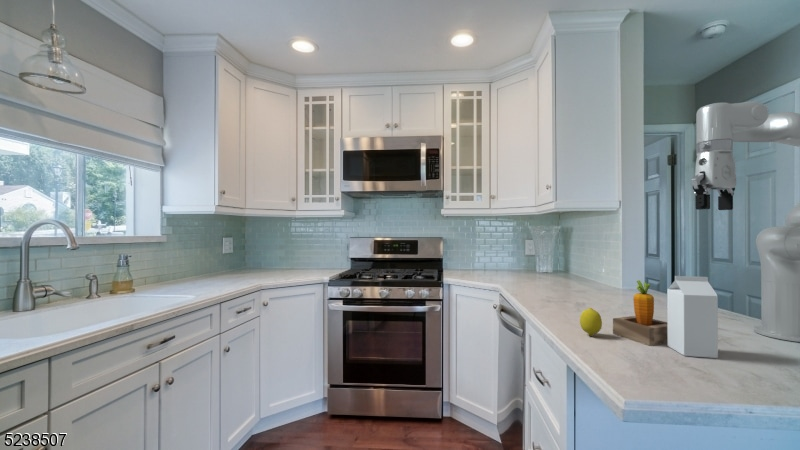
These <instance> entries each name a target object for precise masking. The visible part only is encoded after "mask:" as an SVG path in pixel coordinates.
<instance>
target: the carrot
mask: <svg viewBox="0 0 800 450" xmlns="http://www.w3.org/2000/svg"><path fill="white" fill-rule="evenodd" d="M636 283H637V286H636V287H635V288H636V290H638V291H639V292H637V293H635V294H634V296H633V310H634V316H636V320H637V323H638V324H642V325H645V326H651V324H652V320H653V319H654V313H655V299H654V296H653V294H650V293H648V291H649V288H650V286H651V284H650V283H648V282H643V283H642V281H641V280H639V279H638V280H636Z"/></svg>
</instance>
